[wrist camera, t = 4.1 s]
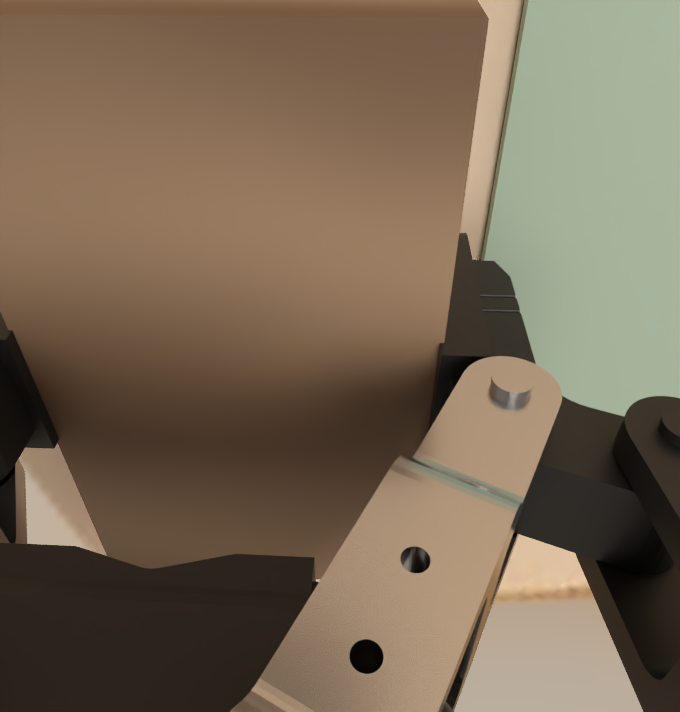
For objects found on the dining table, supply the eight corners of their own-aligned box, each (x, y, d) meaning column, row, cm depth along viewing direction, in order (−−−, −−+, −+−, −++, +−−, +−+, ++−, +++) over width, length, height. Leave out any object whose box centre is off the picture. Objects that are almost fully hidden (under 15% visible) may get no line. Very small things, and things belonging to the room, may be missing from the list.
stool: (127, -73, 12) (-132, 12, 6) (432, -73, 12) (489, 18, 6) (201, 329, 19) (113, 569, 12) (400, 335, 18) (411, 583, 12)
